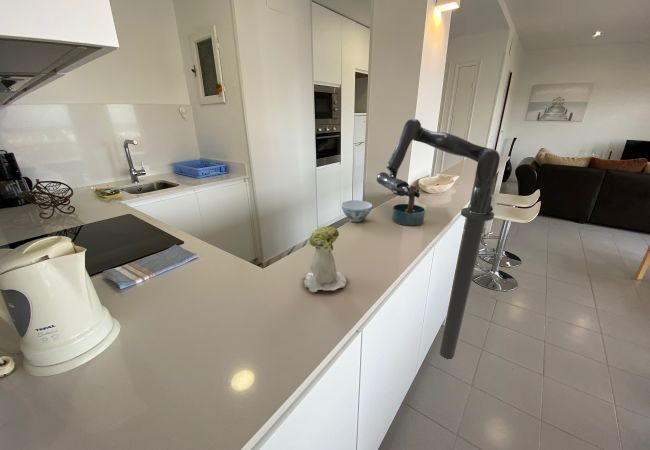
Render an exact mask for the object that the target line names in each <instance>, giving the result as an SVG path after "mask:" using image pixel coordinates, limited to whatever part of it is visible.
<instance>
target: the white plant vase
mask: <svg viewBox="0 0 650 450" xmlns="http://www.w3.org/2000/svg"><path fill="white" fill-rule="evenodd" d="M339 232H340V231H339V230H338V228H336V227H335V226H334V227H333V226H321V227H319V228H317V229H314V231H312V233H311V234H310V236H309V240H308V241H309V245H310V246H312V247H314V248H315V249H314V251H313V254H312V259H311V260H310V264H309V270H310V271H311V272H307V273H306V274H305V279H304V280H303V282H304V287H306V288H308V291H310V292H312V293H316V292H318V291H321V290H322V291H336V290H338V289H340V288H345V286H346V284H347V278H346V277H345V275H344V274H343V273H341V272H340V271H338V270H337V266H336V261H335V258H336V257H334V255H333V253H332V251H334V246H333V245H334V243H335V242H336V240H337V239H338V238H339V235H340V233H339Z"/></svg>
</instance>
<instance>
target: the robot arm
mask: <svg viewBox="0 0 650 450" xmlns="http://www.w3.org/2000/svg"><path fill="white" fill-rule="evenodd" d="M413 141H415V142H419V143H422V144H426V145H427V146H430V147H432V148H435V149H437V150H439V151H442V152H444V153H447V154H449V155H454V156H458V157H464V158H468V159H470V160H471V161H474V162H476V164H477V165H476V169H475V173H474V179H473V184H472V185H473V186H472V190H471V195H470V200H469V203H468V208H469V209H468V211H469V212H470V213H473V214H478V215H485V214H488V213H489V212H493V211H494V208H493V206H492V205H491V204H492V200H493V196H492V194H493V189H494V186H495V181H496V177H497V174H498V170H499V165H500V161H501V155H500V152H499V151H497V150H496V149H494V148H489V147H485V146H482V145H478V144H475V143H473V142H470V141H469V140H466V139H464V138H462V137H459V136H458V135H455V134H452V133H448V132H444V131H443V132H442V131H432V130H429V129H426V128H425V127H422V124H421V122H420V120H419V119H417V118H410V119H408V120H406V122H405V123H404V126H403V129H402V132H401V135H400V137H399V140H398V142H397V144H396V146H395V149H394V150H393V152H392V154H391V156H390V158H389V160H388V161H387V163H386V169H387V170H388V172H389V173H387V172H385V171H382V172H379V173H378V174H377V176H376V182H377V184H379V185H381V186H382V187H384V188H386V189H388V190H389V191H390V192H392V194H393V195H396V196H399V197H408V198H409V197H410V198H413V193H411V192H410V184H409V183H408V182H407V181H405V180H403V179H400V178H397V175H398V172H399V170H400V168H401V166H402V164H403V161H404V160H405V157H406V154H407V152H408V149H409V147H410V145H411V143H412V142H413ZM420 197H421V193H420V187H418V186H416V192H415V198H416V199H417V198H420Z"/></svg>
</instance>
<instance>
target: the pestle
mask: <svg viewBox="0 0 650 450" xmlns="http://www.w3.org/2000/svg"><path fill="white" fill-rule="evenodd" d="M409 186H410V192H411V193H413V198H410V197H408V201H407V202H408V203H407V204H408V209H406V210H405V212H406V213H415V210H413V207H414V205H415V199H416V197H415V192H416V187H417V185H415V184H409Z"/></svg>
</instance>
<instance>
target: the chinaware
mask: <svg viewBox="0 0 650 450" xmlns="http://www.w3.org/2000/svg"><path fill="white" fill-rule="evenodd" d="M340 205H341V210H342V212H343V214H344V215H345V216H346V217H347V218H348V220H349V221H351V222H357V223H358V222H362V221H363V219H365V218H366V217H368V215H369V214H370V212H371V211H372V208H373V204H372V203H371V202H369V201H365V200H356V199H355V200H353V199H352V200H346V201H342V202H341V204H340Z"/></svg>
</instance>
